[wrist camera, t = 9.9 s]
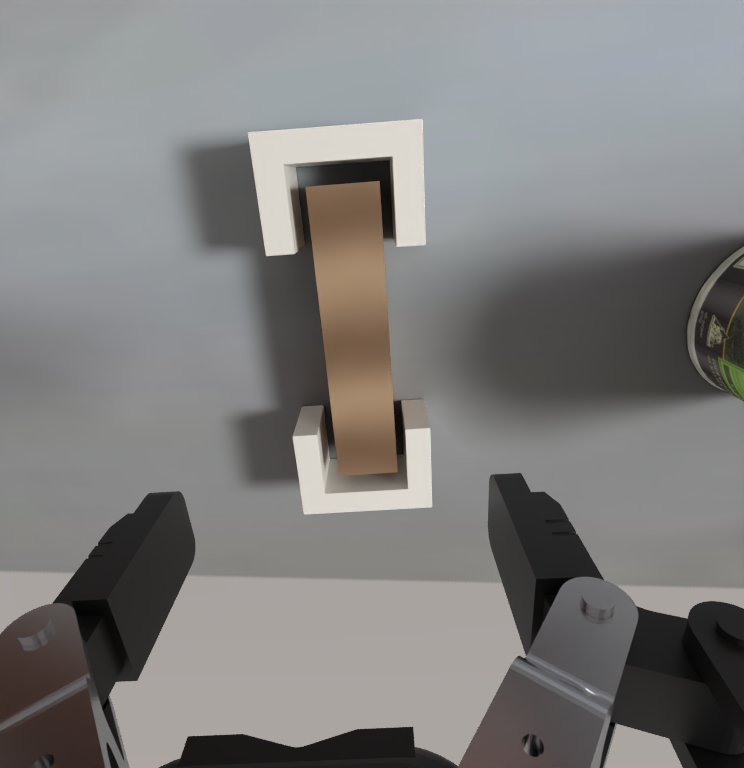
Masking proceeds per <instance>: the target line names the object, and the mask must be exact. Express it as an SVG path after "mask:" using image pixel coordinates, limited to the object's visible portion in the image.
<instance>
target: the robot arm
mask: <svg viewBox="0 0 744 768" xmlns="http://www.w3.org/2000/svg"><path fill="white" fill-rule="evenodd" d="M488 532H489V540H490V545H491V549H492V552H493V555H494V558H495V561H496V565H497V568H498V571H499V574H500V577H501V580H502V583H503V586H504V589H505V592H506V595H507V598H508V601H509V604H510V608H511V611H512V614H513V617H514V620H515V623H516V626H517V629H518V632H519V635H520V639H521V642H522V645H523V648H524V651H525V654H526V657H525V658H522V657H521V656H518V657H517V658H516V659H515V660H514V661H513V663H512V664H511V666H510V668H509V670H508V672H507V674H506V676H505V678H504V680H503V682H502V683H501V685H500V687H499V689H498V691H497V693H496V695H495V697H494V699H493V701H492V703H491V704H490V706H489V708H488V710H487V712H486V714H485V716H484V718H483V720H482V722H481V724H480V726H479V727H478V729H477V732H476V733H475V735H474V737H473V739H472V741H471V743H470V745H469V747H468V749H467V750H466V752H465V754H464V756H463V758H462V760H461V762H460V764H459V766H457V765H455V764H454V763H452V762H451V761H449V760H447V759H445V758H444V757H442V756H440V755H438V754H435V753H433V752H430V751H428V750H424V749H421V748H417V747H414V734H413V727H400V728H376V729H357V730H354V731H351V732H348V733H344V734H341V735H338V736H335V737H332V738H329V739H325V740H322V741H319V742H316V743H313V744H310V745H307V746H304V747H297V748H295V747H290V746H286V745H282V744H278V743H275V742H271V741H267V740H263V739H259V738H255V737H251V736H248V735H243V734H236V735H214V736H190V737H188V738H187V741H186V744H185V747H184V750H183V753H182V756H181V758H180V759H177V760H174V761H172V762H170V763H168V764H166V765H163V766H161V767H159V768H605V765H606V761H607V757H608V754H609V750H610V747H611V743H612V740H613V736H614V733H615V729H616V726H617V724H620V725H623V726H627V727H631V728H634V729H638V730H641V731H645V732H648V733H652V734H655V735H659V736H663V737H666V738H669V739H670V741H671V743H672V745H673V748H674V750H675V752H676V754H677V756H678V758H679V760H680V762H681V765H682V767H683V768H744V609H743V608H740V607H738V606H735V605H732V604H728V603H723V602H715V601H709V602H702V603H699V604H697V605H695V606H694V607H693V608H692V609H691V610H690V612H689V616H688V619H686V618H681V617H677V616H672V615H667V614H662V613H657V612H653V611H649V610H645V609H643V608H640V607H637V606H636V605H635V603H634V602H633V600H632V599H631V598H630V596H629V595H628V594H626V592H624V591H623V590H622V589H620V588H619V587H617V586H616V585H614V584H612V583H610V582H608V581H605V580H604V579H603V577H602V576H601V574H600V572H599V571H598V569H597V567H596V565H595V564H594V562H593V560H592V558H591V557H590V555H589V553H588V552H587V550H586V548H585V546H584V545H583V543H582V541H581V540H580V538H579V536H578V534H576V531H575V529H574V527H573V526H572V524H571V522H569V520H568V517H567V515H566V514H565V512H564V510H563V509H562V507H561V505H560V504H559V503H558V502H557V501H555V500H554V499H553V498H551V497H550V496H549V495H548V494H546V493H545V492H531V491H530V489H529V487H528V485H527V484H526V482H525V480H524V478H523V476H522V474H521V473H513V474H495V475H491V476H490V481H489V509H488ZM194 555H195V538H194V534H193V530H192V526H191V523H190V519H189V515H188V511H187V507H186V503H185V500H184V497H183V495H182V493H181V492H179V491H177V492H159V493H149V494H148V495H147V496H146V497H145V498H144V500H143V501H142V502H141V504H140V505H139V507H138V508H137V509H136V511H135V512H134V513H133V514H127V515H126V516H124V517H123V518H122V519H120V520H119V521H118V522H116V523H115V524H114V525H112V526H111V527H110V528H109V529H108V531H107V532H106V533H105V535H104V536H103V537H102V539H101V540H100V541H99V542H98V546H95V548H94V549H93V550H92V552H91V553H90V554H89V558H88V559H86V560H85V561H84V562H83V564H82V565H81V566H80V568H79V569H78V570H77V572H76V573H75V574H74V575H73V577H72V578H71V579H70V581H69V582H68V584H67V585H66V586H65V587H64V589H63V590H62V592H61V593H60V594H59V596H58V597H57V598H56V599H55V601H54V602H53V603H52V604H49V605H44V606H41V607H38V608H36V609H33V610H31V611H29V612H27V613H25V614H24V615H22V616H21V617H19V618H18V619H16V620H15V621H13V622H12V623H11V624H10V625H9V626H8V627H7V628H6V629H5V630H4V631H3V632H2V633H1V634H0V768H129V764H128V761H127V757H126V753H125V750H124V745H123V742H122V738H121V735H120V730H119V726H118V723H117V719H116V715H115V712H114V707H113V704H112V701H111V699H110V696H109V694H110V692H111V690H112V688H113V686H114V684H115V682H119V681H137V680H138V678H139V676H140V674H141V672H142V670H143V667H144V665H145V663H146V661H147V659H148V657H149V655H150V652H151V650H152V648H153V646H154V644H155V642H156V640H157V638H158V635H159V633H160V631H161V629H162V627H163V625H164V622H165V620H166V618H167V616H168V614H169V612H170V610H171V608H172V606H173V604H174V601H175V599H176V597H177V595H178V593H179V591H180V589H181V587H182V584H183V582H184V580H185V578H186V576H187V574H188V572H189V570H190V567H191V565H192V563H193V560H194Z"/></svg>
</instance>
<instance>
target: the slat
mask: <svg viewBox="0 0 744 768" xmlns="http://www.w3.org/2000/svg"><path fill="white" fill-rule="evenodd" d="M305 188H306V197H307V206H308V214H309V223H310V231H311V240H312V249H313V257H314V266H315V274H316V283H317V292H318V300H319V309H320V318H321V326H322V335H323V343H324V352H325V361H326V369H327V378H328V386H329V395H330V404H331V412H332V421H333V429H334V438H335V447H336V455H337V464H338V472H339V476H348V475H363V474H379V473H394V472H398V471H397V455H396V438H395V422H394V406H393V390H392V374H391V358H390V341H389V325H388V309H387V293H386V277H385V261H384V244H383V228H382V212H381V196H380V181H373V182H360V183H347V184H335V185H322V186H310V187H305Z"/></svg>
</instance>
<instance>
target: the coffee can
mask: <svg viewBox="0 0 744 768" xmlns="http://www.w3.org/2000/svg"><path fill="white" fill-rule="evenodd" d="M687 344H688V350H689V354H690V358H691V360H692V362H693V364H694V366H695V368H696V369H697V371H698V372H699V374H700V375H701V376H702V377H703V378H704V379H705V380H706V381H707V382H709V383H710V384H712V385H713V386H715V387H717V388H719V389H721V390H724V391H726V392H728V393H730V394H732V395H733V396H735V397H737V398H739V399H740V400H742V401H744V246H743V247H742V248H740V249H739V250H737V251H736V252H734V253H733V254H732V255H731V256H730V257H728V258H727V259H726V260H725V261H723V262H722V263H721V264H720V266H719V267H718V268H717V269H716V270H715V272H714V273H713V274H712V275H711V276H710V277H709V278H708V280H707V281H706V283H705V284H704V285H703V287H702V288H701V290H700V292H699V294H698V296H697V298H696V300H695V302H694V305H693V307H692V310H691V314H690V317H689V321H688V326H687Z"/></svg>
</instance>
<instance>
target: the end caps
mask: <svg viewBox="0 0 744 768" xmlns="http://www.w3.org/2000/svg"><path fill="white" fill-rule="evenodd" d="M248 137H249V144H250V151H251V158H252V164H253V171H254V178H255V185H256V191H257V198H258V205H259V212H260V219H261V225H262V232H263V239H264V246H265V252H266V256H275V255H289V254H295V253H296V252H297V251H298V250H300V249H301V248H302V247H303V246H304V245H305V241H304V233H303V224H302V216H301V207H300V198H299V190H298V181H297V173H296V167H306V166H319V165H333V164H346V163H360V162H373V161H387V160H390V180H391V200H392V221H393V239H394V241H395V244H396V246H397V247H403V246H417V245H426V237H425V197H424V156H423V119H416V120H403V121H390V122H377V123H364V124H351V125H338V126H324V127H311V128H298V129H285V130H272V131H259V132H248ZM401 404H402V425H403V445H404V454H403V455H397V471H398V472H394V473H379V474H363V475H348V476H339V472H338V464H337V458H336V459H330V456H329V447H328V439H327V430H326V421H325V413H324V405H318V406H302V408H301V411H300V414H299V418H298V421H297V424H296V427H295V430H294V434H293V442H294V449H295V456H296V463H297V469H298V476H299V483H300V490H301V497H302V503H303V510H304V514H321V513H338V512H356V511H374V510H391V509H409V508H427V507H432V481H431V440H430V425H429V421H428V417H427V413H426V409H425V404H424V400H423V399H414V400H401Z"/></svg>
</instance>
